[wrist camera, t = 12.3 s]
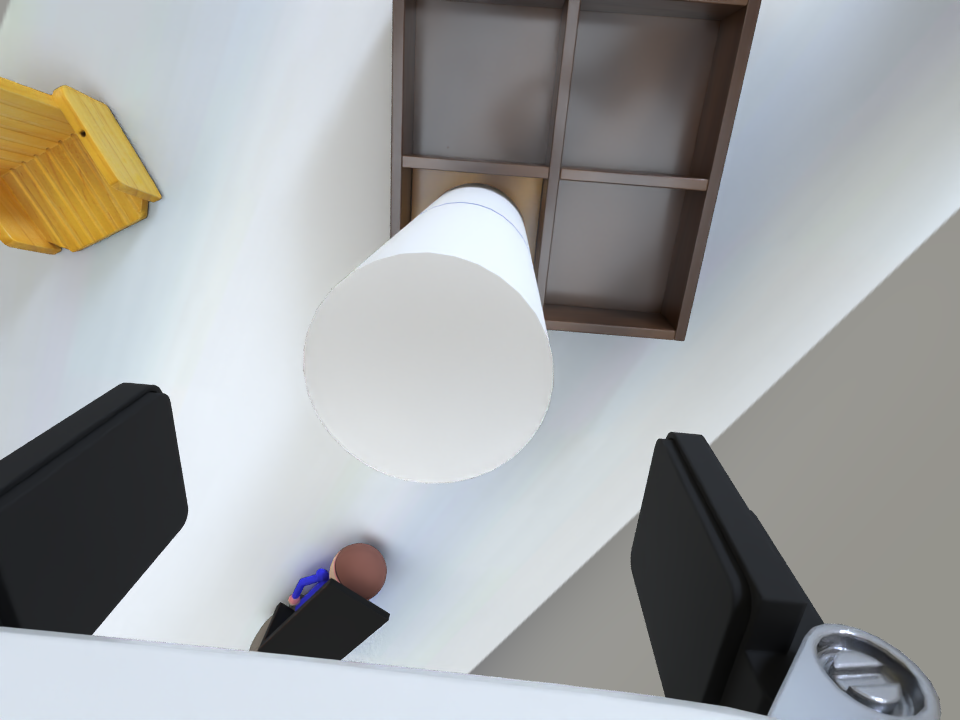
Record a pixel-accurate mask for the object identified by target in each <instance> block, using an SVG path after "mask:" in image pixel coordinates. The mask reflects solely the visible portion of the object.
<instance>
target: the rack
mask: <svg viewBox="0 0 960 720" xmlns="http://www.w3.org/2000/svg"><path fill="white" fill-rule="evenodd" d="M760 5H761V0H393V18H392V117H391V215H390V239H391V238H392V237H393V236H394V235H396V234H397V233H398V232H399V231H400V230H402V229H403V228H404V227H405V226H406V225H408V224H409V223H410V222H411V221H412V220H414V219H415V218H416V217H417V216H418V215H419V214H420V213H422V212H423V211H424V210H425V209H426V208H427V207H429V206H430V205H431V204H432V203H433V202H435V201H436V200H437V199H438V198H439V197H441V196H442V195H443V194H444V193H445V192H447V191H448V190H450V189H452V188H454V187H456V186H460V185H463V184H469V183H480V184H487V185H489V186H492V187H495V188H497V189H499V190H500V191H502V192H504V193H505V194H506V195H507V196H508V197H509V198H511V199H512V201H513V202H514V203H515V205H516V206H517V207H518V209H519V211H520V214H521V216H522V218H523V222H524V227H525V231H526V235H527V240H528V245H529V249H530V254H531V259H532V264H533V269H534V273H535V278H536V282H537V287H538V291H539V296H540V300H541V305H542V310H543V315H544V320H545V325H546V329H547V330H558V331H570V332H582V333H595V334H607V335H619V336H631V337H643V338H655V339H667V340H677V341H684V340H685V336H686V331H687V327H688V323H689V318H690V314H691V309H692V305H693V300H694V296H695V292H696V287H697V283H698V278H699V274H700V270H701V265H702V261H703V256H704V252H705V247H706V243H707V239H708V234H709V230H710V225H711V221H712V217H713V212H714V208H715V203H716V199H717V195H718V190H719V186H720V181H721V177H722V172H723V168H724V164H725V159H726V155H727V150H728V146H729V142H730V137H731V133H732V128H733V124H734V119H735V115H736V111H737V106H738V102H739V97H740V93H741V89H742V84H743V80H744V75H745V71H746V67H747V62H748V58H749V53H750V49H751V44H752V40H753V36H754V31H755V27H756V22H757V18H758V14H759V9H760Z"/></svg>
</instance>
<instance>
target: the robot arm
mask: <svg viewBox="0 0 960 720" xmlns="http://www.w3.org/2000/svg"><path fill="white" fill-rule="evenodd" d="M187 515H188V504H187V498H186V492H185V486H184V480H183V474H182V468H181V462H180V456H179V450H178V444H177V438H176V432H175V426H174V420H173V414H172V408H171V402H170V399H169V397H168V395H166V394H164V393H162V391H161V389H160V388H159V387H158V386H156V385H147V384H135V383H122V384H120V385H118V386H116V387H115V388H113V389H112V390H110V391H108V392H107V393H105V394H104V395H102V396H101V397H99V398H97V399H96V400H94V401H93V402H91V403H90V404H88V405H86V406H85V407H83V408H82V409H80V410H79V411H77V412H75V413H74V414H72V415H71V416H69V417H68V418H66V419H64V420H63V421H61V422H60V423H58V424H57V425H55V426H53V427H52V428H50V429H49V430H47V431H46V432H44V433H42V434H41V435H39V436H38V437H36V438H35V439H33V440H31V441H30V442H28V443H27V444H25V445H24V446H22V447H20V448H19V449H17V450H16V451H14V452H13V453H11V454H9V455H8V456H6V457H5V458H3V459H2V460H0V720H940V717H941V708H940V699H939V697H938V695H937V693H936V691H935V689H934V687H933V685H932V683H931V681H930V680H929V679H928V678H927V677H926V675H925V674H924V673H923V672H922V671H921V670H920V668H919V667H918V666H917V665H916V664H915V663H914V662H913V661H911V660H910V659H909V658H908V657H907V656H905V655H904V654H903V653H902V652H901V651H900V650H898V649H897V648H895V647H893V646H892V645H890V644H888V643H887V642H885V641H884V640H882V639H880V638H879V637H877V636H874V635H872V634H870V633H867V632H865V631H863V630H860V629H858V628H854V627H850V626H846V625H842V624H824V623H823V621H822V619H821V618H820V616H819V614H818V613H817V611H816V610H815V608H814V607H813V605H812V603H811V602H810V600H809V599H808V597H807V595H806V594H805V593H804V591H803V589H802V588H801V586H800V584H799V583H798V581H797V580H796V578H795V576H794V575H793V573H792V572H791V570H790V569H789V567H788V565H787V564H786V562H785V561H784V559H783V557H782V556H781V554H780V553H779V551H778V550H777V548H776V546H775V545H774V544H773V542H772V540H771V539H770V537H769V535H768V534H767V532H766V531H765V529H764V527H763V526H762V524H761V523H760V521H759V520H758V518H757V516H756V515H755V514H754V513H753V512H752V511H751V510H749V508H748V507H747V505H746V504H745V502H744V501H743V499H742V497H741V496H740V494H739V492H738V491H737V489H736V488H735V486H734V485H733V483H732V481H731V480H730V478H729V476H728V475H727V473H726V472H725V470H724V469H723V467H722V465H721V464H720V462H719V461H718V459H717V457H716V456H715V454H714V452H713V451H712V449H711V448H710V446H709V444H708V443H707V441H706V440H705V438H704V437H703V436H702V435H698V434H687V433H676V432H670V433H669V434H668V435H667V437H666V439H658V440H657V442H656V445H655V448H654V453H653V457H652V462H651V466H650V471H649V475H648V479H647V484H646V488H645V493H644V497H643V502H642V506H641V510H640V515H639V519H638V524H637V528H636V532H635V537H634V541H633V546H632V551H631V570H632V574H633V578H634V582H635V585H636V589H637V593H638V596H639V600H640V604H641V608H642V611H643V615H644V619H645V622H646V626H647V630H648V634H649V637H650V641H651V645H652V649H653V652H654V656H655V660H656V664H657V667H658V671H659V675H660V679H661V682H662V686H663V690H664V694H665V697H659V696H652V695H645V694H638V693H630V692H621V691H612V690H603V689H594V688H585V687H577V686H570V685H562V684H554V683H545V682H536V681H527V680H517V679H509V678H499V677H489V676H480V675H471V674H463V673H454V672H444V671H435V670H426V669H417V668H408V667H399V666H389V665H380V664H371V663H361V662H351V661H342V660H332V659H323V658H313V657H303V656H294V655H284V654H274V653H265V652H255V651H245V650H235V649H225V648H216V647H206V646H196V645H186V644H176V643H166V642H156V641H146V640H135V639H125V638H115V637H104V636H94V635H92V634H93V633H94V632H95V631H96V629H97V628H98V627H99V626H100V625H101V624H102V622H103V621H104V620H105V619H106V618H107V616H108V615H109V614H110V613H111V612H112V610H113V609H114V608H115V607H116V606H117V605H118V603H119V602H120V601H121V600H122V599H123V597H124V596H125V595H126V594H127V593H128V591H129V590H130V589H131V588H132V587H133V586H134V584H135V583H136V582H137V581H138V580H139V578H140V577H141V576H142V575H143V574H144V572H145V571H146V570H147V569H148V568H149V566H150V565H151V564H152V563H153V562H154V561H155V559H156V558H157V557H158V556H159V555H160V553H161V552H162V551H163V550H164V549H165V547H166V546H167V545H168V544H169V543H170V542H171V540H172V539H173V538H174V537H175V536H176V534H177V533H178V532H179V531H180V530H181V528H182V527H183V526H184V524H185V522H186V519H187Z"/></svg>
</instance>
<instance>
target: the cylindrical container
mask: <svg viewBox="0 0 960 720" xmlns="http://www.w3.org/2000/svg"><path fill="white" fill-rule="evenodd" d="M303 372H304V377H305V382H306V387H307V392H308V395H309V398H310V400H311V402H312V405H313V407H314V410H315V412H316V414H317V416H318V418H319V419H320V421H321V422H322V424H323V425H324V426H325V428H326V429H327V431H328V432H329V434H330V435H331V436H332V437H333V438H334V439H335V440H336V441H337V442H338V443H339V444H340V445H341V446H342V447H343V448H344V449H345V450H346V451H347V452H348V453H349V454H351V455H352V456H354V457H355V458H357V459H358V460H359V461H361V462H362V463H364V464H365V465H367V466H369V467H371V468H373V469H375V470H377V471H379V472H381V473H383V474H386V475H389V476H392V477H396V478H399V479H402V480H406V481H413V482H420V483H452V482H457V481H462V480H467V479H472V478H475V477H477V476H480V475H482V474H485V473H487V472H490V471H492V470H495V469H496V468H498V467H499V466H501V465H502V464H504V463H505V462H507V461H508V460H510V459H511V458H513V457H514V456H515V455H516V454H517V453H518V452H519V451H520V450H521V449H522V448H523V447H524V446H525V445H527V444H528V443H529V441H530V440H531V439H532V437H533V436H534V434H535V433H536V431H537V430H538V428H539V427H540V425H541V423H542V421H543V419H544V416H545V414H546V412H547V409H548V407H549V403H550V398H551V394H552V389H553V358H552V353H551V349H550V344H549V339H548V334H547V329H546V325H545V320H544V315H543V310H542V305H541V300H540V296H539V291H538V287H537V282H536V278H535V273H534V269H533V264H532V259H531V254H530V249H529V245H528V240H527V235H526V231H525V227H524V222H523V218H522V216H521V214H520V211H519V209H518V207H517V206H516V205H515V203H514V202H513V201H512V199H511V198H509V197H508V196H507V195H506V194H505V193H504V192H502V191H500V190H499V189H497V188H495V187H492V186H489V185H487V184H480V183H469V184H463V185H460V186H456V187H454V188H452V189H450V190H448V191H447V192H445V193H444V194H443V195H442V196H441V197H439V198H438V199H437V200H436V201H435V202H433V203H432V204H431V205H430V206H429V207H427V208H426V209H425V210H424V211H423V212H422V213H420V214H419V215H418V216H417V217H416V218H415V219H414V220H412V221H411V222H410V223H409V224H408V225H406V226H405V227H404V228H403V229H402V230H400V231H399V232H398V233H397V234H396V235H394V236H393V237H392V238H391V239H390V240H388V241H387V242H386V243H385V244H384V245H382V246H381V247H380V248H379V249H378V250H377V251H376V252H374V253H373V254H372V255H371V256H370V257H369V258H367V259H366V260H365V261H364V262H363V263H362V264H360V265H359V266H358V267H357V268H356V269H355V270H353V271H352V272H351V273H350V274H349V275H348V276H346V277H345V278H344V279H343V280H342V281H341V282H340V283H338V284H337V285H336V286H335V287H334V288H333V289H331V291H330V292H329V293H328V295H327V296H326V297H325V299H324V300H323V301H322V303H321V304H320V305H319V307H318V308H317V310H316V312H315V315H314V317H313V319H312V321H311V323H310V326H309V328H308V332H307V336H306V341H305V345H304V361H303Z"/></svg>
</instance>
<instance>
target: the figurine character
mask: <svg viewBox="0 0 960 720" xmlns="http://www.w3.org/2000/svg"><path fill="white" fill-rule="evenodd" d="M386 574H387V568H386V563H385V560H384V558H383V556H382V554H381V553H380V552H379V551H378V550H377V549H376V548H374V547H373V546H371V545H368V544H364V543H356V544H351V545H348V546H346V547H344V548H343V549H342V550H340V551H339V552H338V553H337V555H336V556H335V557H334V559H333V561H332V563H331V566H330V571H329V573H328V572H327V571H326V570H325V569H319V570H317V572H316V574H315V575H312V576H308V577H305V578H301V579H300V580H299V582H298V584H297V586H296V588H295V590H294V592H293V594H292V595H290V597H289V599H288V602H289V604H290V606H289V607H288V606H286V605H285V604H283V603H281V602H280V603H279V604H278V605H277V607H276V610H275V612H274V614H273V616H271V617H270V618H269V619H268V620H267V621H266V622H265V623H264V625H263V626H262V627H261V629H260V630H259V632H258V633H257V635H256V637H255V638H254V640H253V642H252V644H251V647H250V650H249V651H255V652H265V653H274V654H284V655H294V656H303V657H313V658H323V659H332V660H341V659H343V658H344V657H345V656H346V655H347V654H349V653H350V652H351V651H352V650H353V649H355V648H356V647H357V646H358V645H359V644H361V643H362V642H363V641H364V640H365V639H367V638H368V637H369V636H370V635H371V634H373V633H374V632H375V631H376V630H377V629H379V628H380V627H381V626H382V625H383V624H385V623H386V622H387V621H388V620H389V616H390V614H389V613H388V612H386V611H384V610H383V609H381V608H379V607H378V606H376V605H375V604H373V603H371V602H370V601H368V600H369V599H371V598H372V597H374V596H375V595H376V594H377V593H378V592H379V591H380V590H381V588H382V587H383V585H384V583H385V579H386ZM317 582H319V583H318V584H317V585H316V586H314V587H313V588H312V589H311V590H310V591H309V592H308V593H307V594H306V595H300V594H301V592H302V590H303V588H304V586H306V585H310V584H313V583H317Z"/></svg>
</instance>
